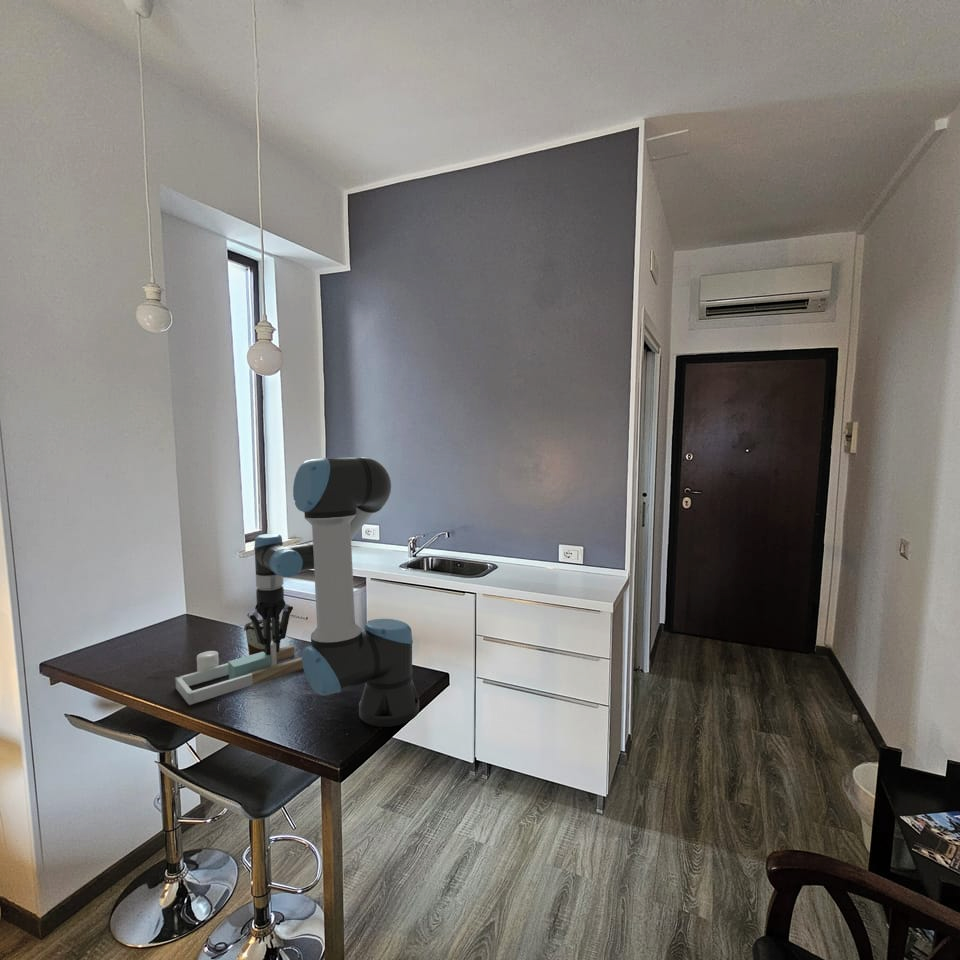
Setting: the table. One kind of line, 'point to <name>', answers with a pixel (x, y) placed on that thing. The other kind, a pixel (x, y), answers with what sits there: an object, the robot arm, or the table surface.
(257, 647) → the food container
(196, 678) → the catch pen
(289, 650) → the guide channel
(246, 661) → the pale teal cube
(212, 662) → the white rounded capsule
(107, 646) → the table surface
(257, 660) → the pale teal block
